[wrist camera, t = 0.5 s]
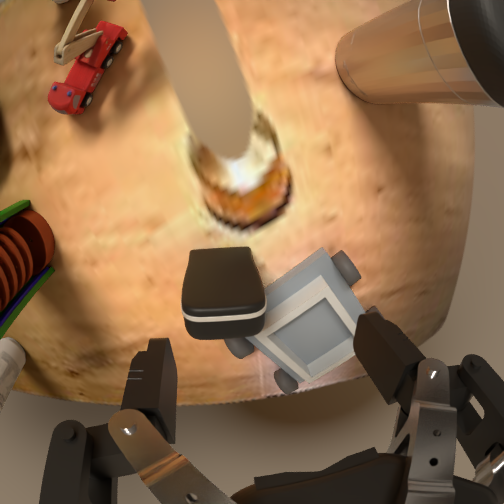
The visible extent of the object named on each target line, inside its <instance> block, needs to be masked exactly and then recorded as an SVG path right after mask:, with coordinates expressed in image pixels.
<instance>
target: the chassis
mask: <svg viewBox="0 0 504 504" xmlns="http://www.w3.org/2000/svg"><path fill="white" fill-rule="evenodd" d="M359 279H361V275H360V274H359V272H358V270H357V269H356V267H355V266H354V264H353V263H352V261H351V260H350V259H349V257H348V256H347V255H346V254H345V253H344V252H343V251H342V250H341V251H339V252H338V253H337V254H335V255H334V256H333V257H331V258H330V256H329V255H328V253H327V252H326V251H325V250H324V249H323V247H321V248H320V249H319V250H317V251H316V252H315V253H313V254H312V255H311V256H309V257H308V258H307V259H305V260H304V261H302V262H301V263H300V264H298V265H297V266H296V267H294V268H293V269H292V270H290V271H289V272H287V273H286V274H285V275H283V276H282V277H280V278H279V279H278V280H276V281H275V282H273V283H272V284H271V285H269V286H268V287H266V288H265V289H264V291H265V295H266V301H267V306H266V310H265V324H264V327H263V329H262V331H261V332H260V333H259V334H257V335H254V336H250V337H243V338H232V339H224V341H225V343H226V345H227V347H228V349H229V350H230V351H231V353H232V354H233V355H234V356H236V357H237V358H239V359H243V358H244V357H246V356H247V355H249V354H251V353H252V352H254V346H256V347H257V348H258V349H259V350H260V351H261V352H263V353H264V354H265V355H266V356H267V357H269V358H270V359H271V360H272V361H273V362H275V363H276V364H277V365H278V366H279V367H281V369H279V370H277V371H275V372H274V378H275V381H276V383H277V385H278V386H279V388H280V389H281V390H282V391H283V392H284V393H285V394H289V393H291V392H293V391H295V390H297V389H298V383H297V381H298V382H299V383H302V382H303V381H306V382H308V383H309V384H310V383H311V382H313V381H315V380H316V379H318V378H320V377H321V376H323V375H325V374H326V373H328V372H330V371H331V370H333V369H334V368H336V367H337V366H339V365H341V364H342V363H344V362H345V361H347V360H348V359H350V358H351V357H353V356H354V355H355V353H354V349H353V339H354V335H355V330H356V325H357V320H358V317H359V315H360V314H364V313H369V312H373V311H376V312H378V313H379V314H380V315H381V316H382V314H381V313H380V312H379V310H378V309H377V308H376V307H375V306H373V307H372V308H371V309H369V310H368V311H366V312H365V311H364V309H363V308H362V306H361V304H360V303H359V301H358V300H357V298H356V296H355V295H354V293H353V292H352V290H351V289H350V287H349V286H351V285H353V284H354V283H355V282H357V281H358V280H359ZM347 283H348V284H347ZM382 318H383V319H384V317H383V316H382ZM384 320H385V319H384ZM253 345H254V346H253Z"/></svg>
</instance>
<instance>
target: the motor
mask: <svg viewBox="0 0 504 504" xmlns="http://www.w3.org/2000/svg"><path fill="white" fill-rule="evenodd" d="M29 205H30V200H22V201H19V202H17V203H15V204H13V205H11V206H9V207H8V208H6V209H4V210H2V211H0V340H1V338H2V337H3V335H4V334H5V332H6V331H7V330H8V328H9V327H10V325H11V324H12V323H13V321H14V320H15V319H16V317H17V316H18V315H19V313H20V312H21V311H22V310H23V308H24V307H25V306H26V304H27V303H28V302H29V301H30V299H31V298H32V297H33V296H34V294H35V293H36V292H37V291H38V290H39V288H40V287H41V286H42V285H43V284H44V282H45V281H46V280H47V279H48V278H49V277H50V276H51V274H52V273H53V272H54V271H55V270H54V269H53V267H51V268H48V267H46V266H47V265H48V263H49V262H50V261H51V260H52V258H53V255H54V250H55V242H54V237H53V233H52V230H51V228H50V226H49V224H48V223H47V221H46V220H45V219H44V218H43V217H42V216H41V215H40V214H38V213H37V212H35V211H32V210H23V211H21V210H22V209H24V208H26V207H28V206H29ZM19 211H21V212H19ZM17 212H19V213H17ZM16 213H17V214H16ZM15 214H16V215H15ZM30 238H32V242H30V240H29V239H30ZM45 267H46V268H45Z"/></svg>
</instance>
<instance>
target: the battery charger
mask: <svg viewBox="0 0 504 504" xmlns="http://www.w3.org/2000/svg"><path fill="white" fill-rule="evenodd" d="M266 306H267V301H266V295H265V291H264V288H263V284H262V281H261V278H260V275H259V272H258V270H257V268H256V265H255V263H254V261H253V258H252V253H251V250H250V248H249V247H230V248H213V249H198V250H191V251H190V255H189V262H188V267H187V270H186V274H185V278H184V282H183V288H182V295H181V311H182V314H183V316H184V321H185V327H186V330H187V332H188V333H189V334H190V336H192V337H193V338H195V339H199V340H215V339H232V338H243V337H250V336H254V335H257V334H259V333H260V332H261V331H262V329H263V327H264V324H265V310H266Z"/></svg>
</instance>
